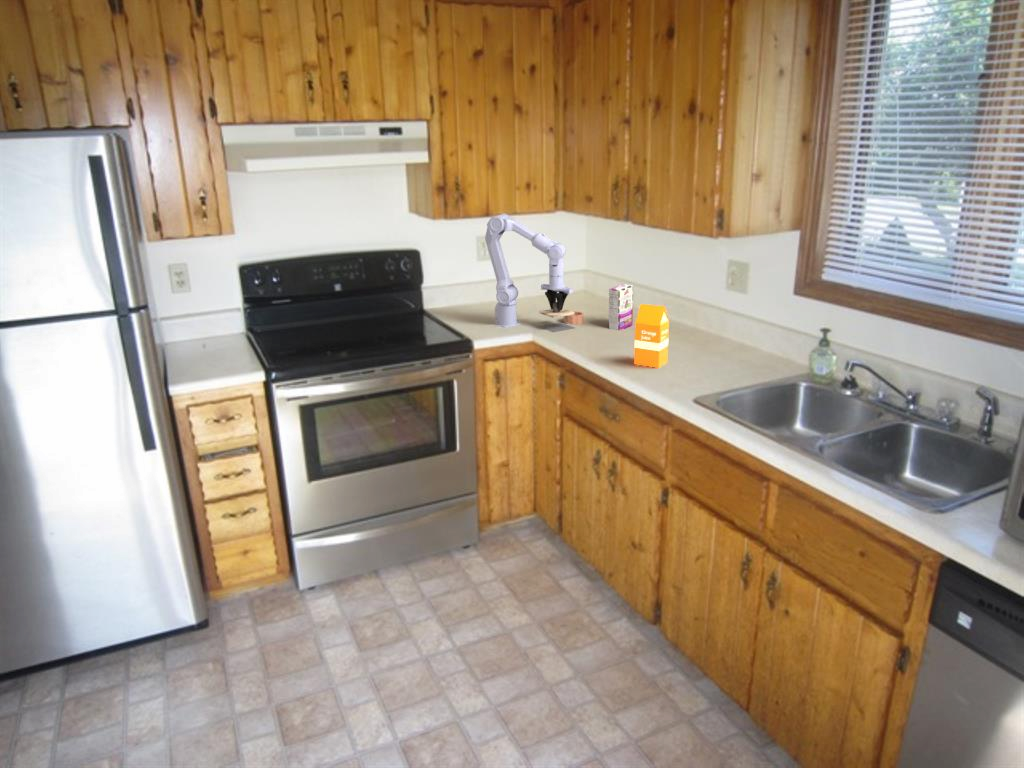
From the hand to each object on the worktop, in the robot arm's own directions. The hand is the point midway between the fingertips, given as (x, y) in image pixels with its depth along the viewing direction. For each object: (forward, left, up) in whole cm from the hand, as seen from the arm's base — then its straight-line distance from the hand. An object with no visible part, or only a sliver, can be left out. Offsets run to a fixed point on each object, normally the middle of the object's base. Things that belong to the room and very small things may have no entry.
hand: (556, 309), depth 292 cm
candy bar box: (+14, +21, -8) cm, 26 cm away
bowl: (-3, +11, -8) cm, 13 cm away
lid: (0, 0, -2) cm, 2 cm away
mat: (0, 0, -8) cm, 8 cm away
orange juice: (+57, -1, -8) cm, 58 cm away
